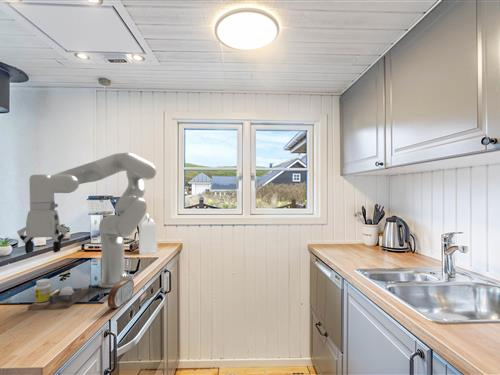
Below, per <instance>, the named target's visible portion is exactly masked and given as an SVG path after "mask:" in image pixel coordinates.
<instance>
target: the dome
mask: <svg viewBox="0 0 500 375" xmlns="http://www.w3.org/2000/svg"><path fill="white" fill-rule="evenodd" d="M60 290H61V291H60V293H59V295H71V294H72V293H73V292H74V291H73V289H72V286H64V287H62V288H60Z"/></svg>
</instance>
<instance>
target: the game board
mask: <svg viewBox="0 0 500 375" xmlns="http://www.w3.org/2000/svg"><path fill="white" fill-rule="evenodd" d="M71 288H72V287H71ZM72 289H73V291H74V292H73V293H72V294H71V295H59V293H60V291H61V289H54V290H53V291H51V296H50V302H49V303H46V304H42V305H37V304H36V303H35V302H33V303H31V304H29V305H28V307H27V310H29V311H30V310H32V311H33V310H52V309H53V310H55V309H69V308H70V307H72V306H73V305H74V304H75V303H77V302H78V301H79V300H80V299H82V298H83V297H84V296H86V294H88V293H90V291H91V289H90V288H82V287H78V288H76V287H75V288H72ZM77 300H78V301H77ZM76 301H77V302H76Z"/></svg>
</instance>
